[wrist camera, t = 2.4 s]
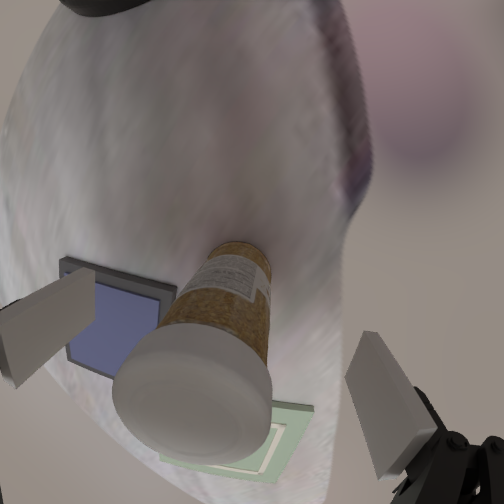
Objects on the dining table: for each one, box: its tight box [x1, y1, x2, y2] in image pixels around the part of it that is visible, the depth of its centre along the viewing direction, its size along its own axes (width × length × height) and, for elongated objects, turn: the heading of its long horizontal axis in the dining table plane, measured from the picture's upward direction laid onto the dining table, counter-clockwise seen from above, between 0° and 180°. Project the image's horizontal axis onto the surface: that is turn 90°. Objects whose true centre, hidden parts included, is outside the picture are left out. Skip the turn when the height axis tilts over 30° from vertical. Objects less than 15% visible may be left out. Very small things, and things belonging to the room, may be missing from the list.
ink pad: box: [59, 256, 177, 380], centre depth 21 cm, size 10×10×1 cm
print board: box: [160, 401, 314, 483], centre depth 23 cm, size 13×13×1 cm
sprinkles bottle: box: [112, 242, 272, 465], centre depth 13 cm, size 5×5×13 cm
